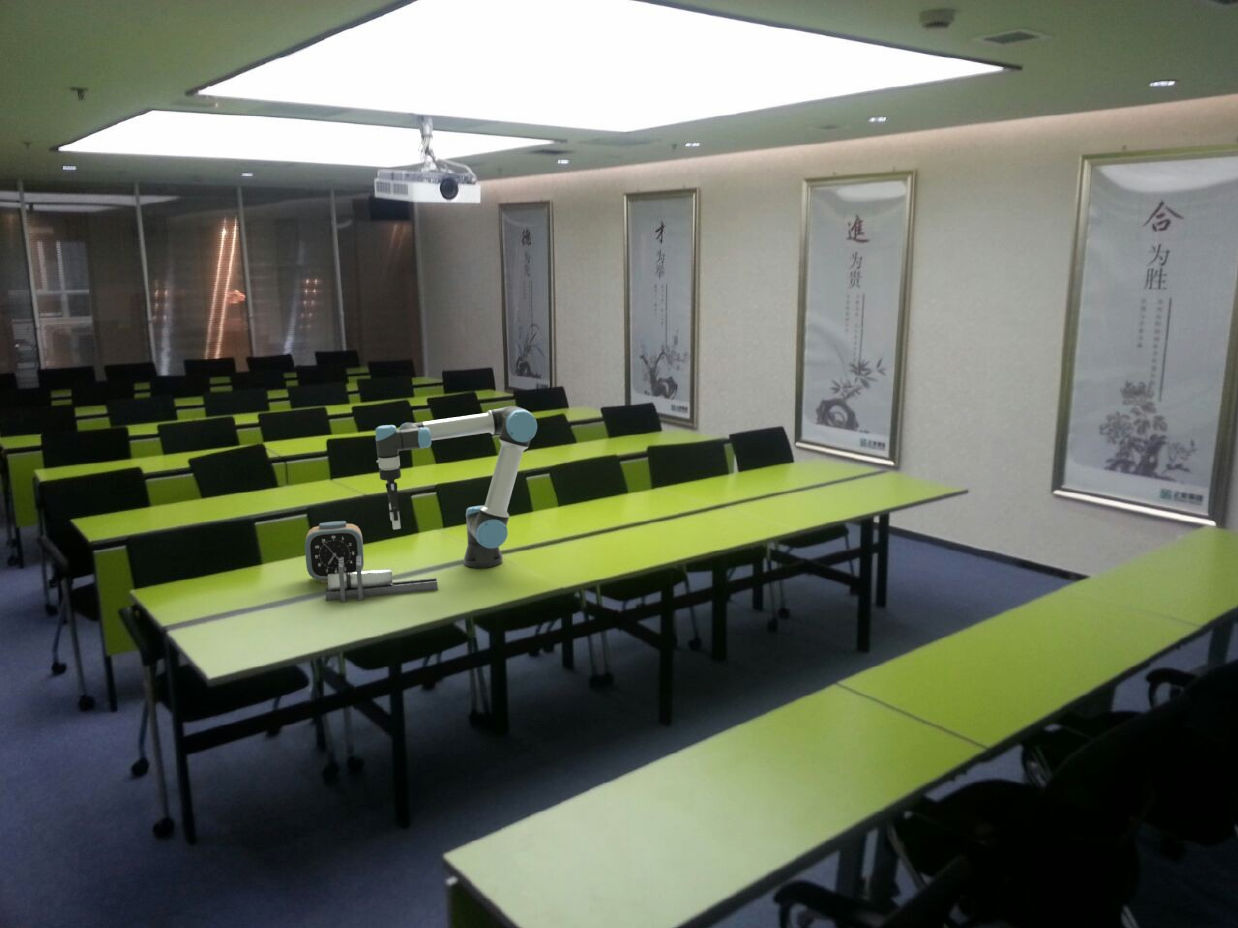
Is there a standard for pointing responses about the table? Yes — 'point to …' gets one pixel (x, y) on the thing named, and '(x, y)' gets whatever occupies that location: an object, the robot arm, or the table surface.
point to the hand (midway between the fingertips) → (395, 524)
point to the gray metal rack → (376, 591)
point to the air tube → (368, 579)
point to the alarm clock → (332, 549)
